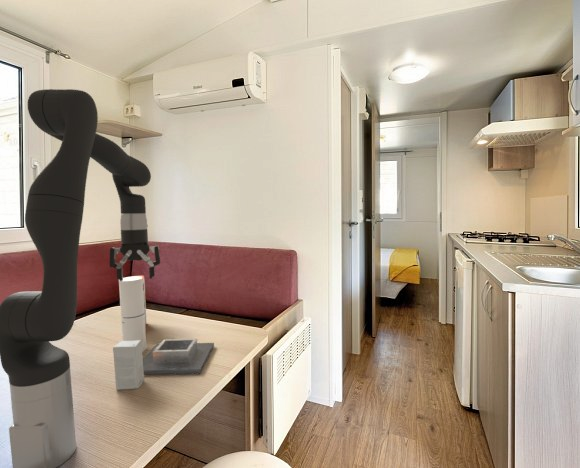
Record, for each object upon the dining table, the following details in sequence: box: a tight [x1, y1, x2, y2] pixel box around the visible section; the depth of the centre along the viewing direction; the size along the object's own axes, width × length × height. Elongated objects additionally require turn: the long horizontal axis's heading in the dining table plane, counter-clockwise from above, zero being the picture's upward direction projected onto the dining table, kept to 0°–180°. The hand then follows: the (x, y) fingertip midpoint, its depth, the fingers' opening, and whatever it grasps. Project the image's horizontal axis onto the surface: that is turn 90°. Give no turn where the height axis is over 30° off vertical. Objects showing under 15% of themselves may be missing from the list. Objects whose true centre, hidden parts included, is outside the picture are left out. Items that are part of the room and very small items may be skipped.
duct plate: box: [143, 338, 215, 376], centre depth 102 cm, size 18×20×5 cm
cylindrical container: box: [118, 275, 147, 353], centre depth 108 cm, size 7×7×25 cm
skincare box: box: [112, 340, 145, 391], centre depth 87 cm, size 6×4×12 cm
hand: (136, 279), depth 100 cm, fingers open, 8 cm apart
